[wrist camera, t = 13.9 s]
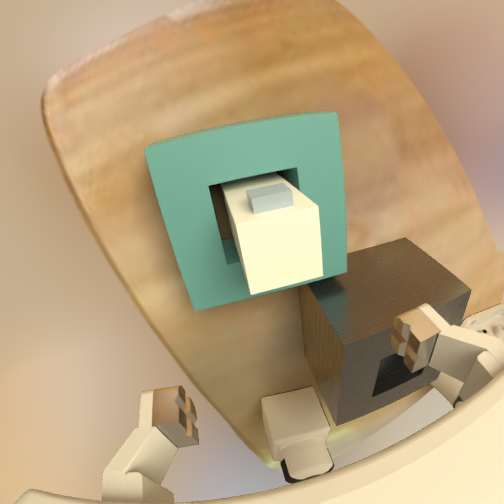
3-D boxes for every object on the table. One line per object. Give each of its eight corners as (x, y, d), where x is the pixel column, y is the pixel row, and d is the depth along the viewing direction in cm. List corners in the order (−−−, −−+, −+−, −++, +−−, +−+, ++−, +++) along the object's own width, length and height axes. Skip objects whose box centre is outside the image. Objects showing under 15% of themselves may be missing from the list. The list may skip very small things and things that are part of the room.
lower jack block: (313, 111, 20) (337, 112, 16) (327, 249, 25) (346, 272, 22) (153, 142, 19) (143, 149, 15) (194, 282, 24) (194, 311, 21)
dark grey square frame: (405, 237, 27) (471, 289, 18) (393, 323, 32) (437, 379, 24) (296, 267, 26) (344, 345, 17) (304, 355, 31) (336, 425, 23)
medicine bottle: (309, 410, 38) (335, 477, 28) (262, 421, 37) (281, 492, 27) (313, 384, 35) (345, 460, 24) (260, 396, 34) (282, 478, 23)
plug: (270, 159, 21) (316, 190, 13) (279, 218, 23) (322, 275, 15) (217, 170, 21) (232, 208, 13) (230, 229, 23) (251, 295, 15)
